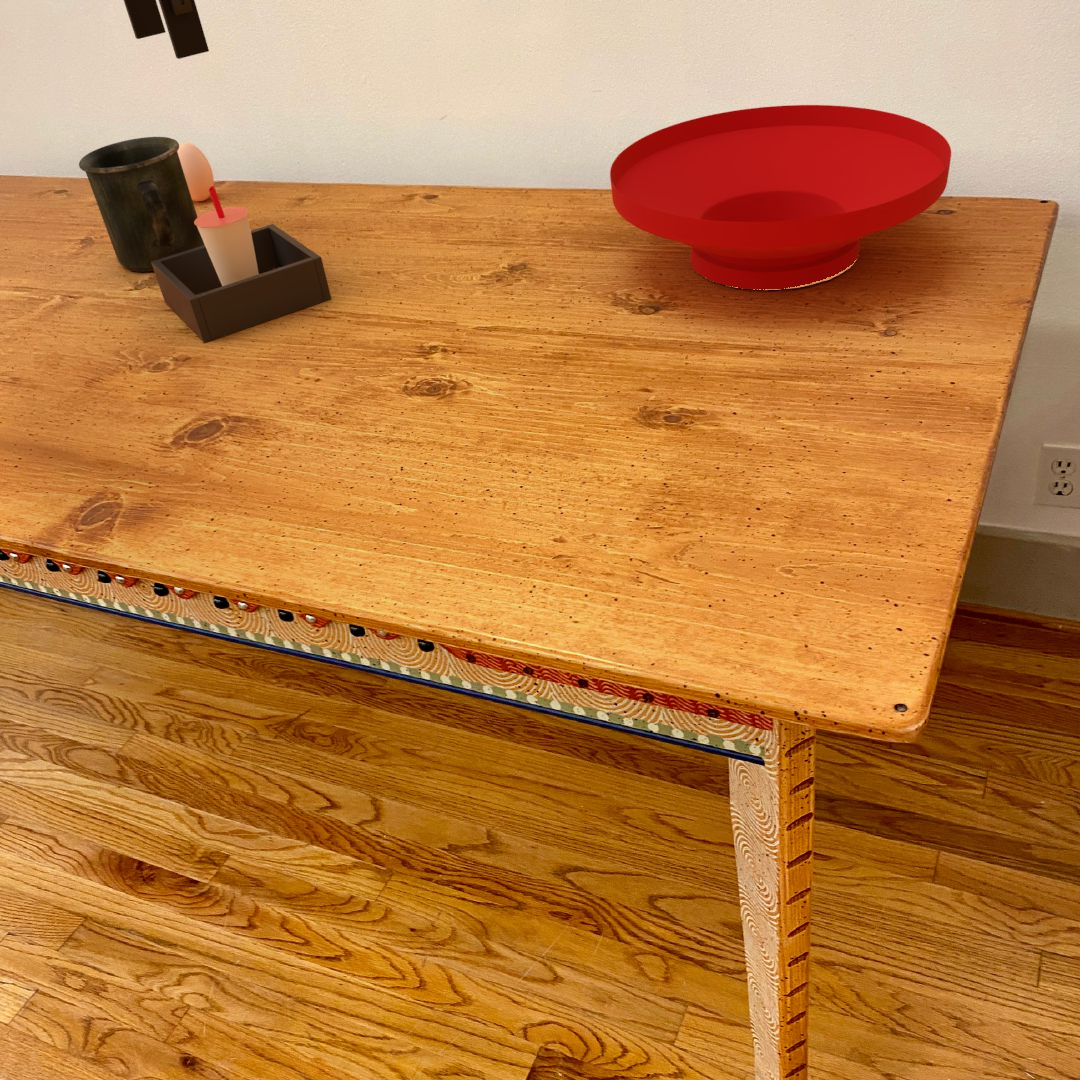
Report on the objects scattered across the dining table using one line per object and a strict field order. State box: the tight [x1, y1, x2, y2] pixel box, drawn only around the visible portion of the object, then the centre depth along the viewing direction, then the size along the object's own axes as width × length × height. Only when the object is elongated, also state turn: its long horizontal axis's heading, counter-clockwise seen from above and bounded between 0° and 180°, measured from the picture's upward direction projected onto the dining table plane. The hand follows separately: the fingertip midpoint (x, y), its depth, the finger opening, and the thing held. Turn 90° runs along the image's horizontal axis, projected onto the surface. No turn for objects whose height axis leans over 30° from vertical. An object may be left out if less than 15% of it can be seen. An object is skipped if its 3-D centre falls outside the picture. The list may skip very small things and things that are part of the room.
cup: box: [194, 185, 259, 287], centre depth 109 cm, size 5×5×12 cm
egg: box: [177, 142, 215, 202], centre depth 140 cm, size 5×5×7 cm
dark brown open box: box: [151, 223, 332, 344], centre depth 111 cm, size 14×14×4 cm
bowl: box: [609, 104, 952, 291], centre depth 103 cm, size 30×30×10 cm
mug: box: [78, 136, 205, 272], centre depth 122 cm, size 11×15×12 cm
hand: (170, 45), depth 98 cm, fingers open, 13 cm apart
